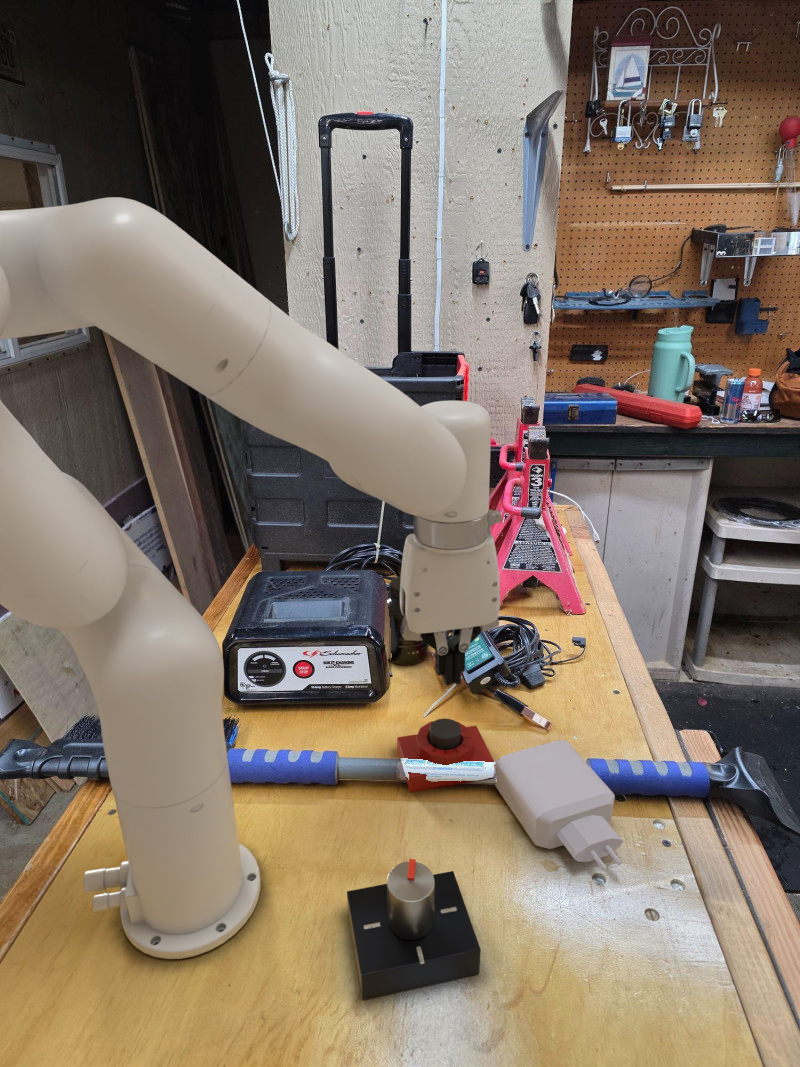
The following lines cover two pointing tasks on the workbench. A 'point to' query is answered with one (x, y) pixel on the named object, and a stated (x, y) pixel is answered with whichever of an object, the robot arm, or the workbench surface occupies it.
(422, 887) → the dial
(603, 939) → the workbench surface
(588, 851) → the charger
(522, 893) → the workbench surface
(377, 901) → the black flat block
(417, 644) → the supplement bottle
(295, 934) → the workbench surface
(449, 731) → the button
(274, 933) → the workbench surface
